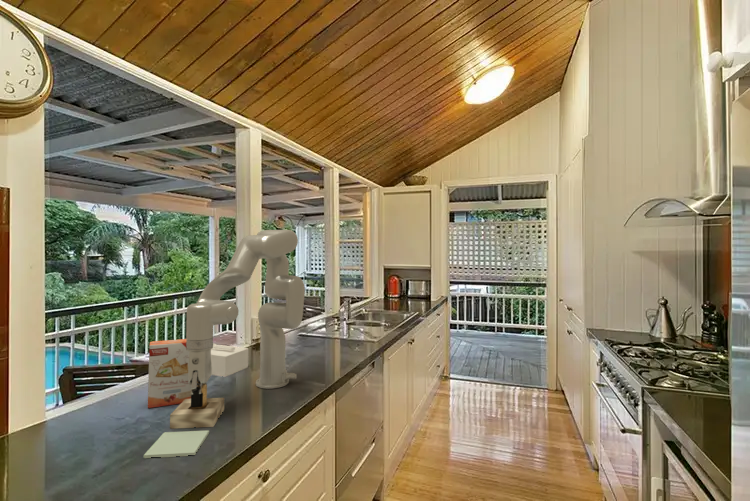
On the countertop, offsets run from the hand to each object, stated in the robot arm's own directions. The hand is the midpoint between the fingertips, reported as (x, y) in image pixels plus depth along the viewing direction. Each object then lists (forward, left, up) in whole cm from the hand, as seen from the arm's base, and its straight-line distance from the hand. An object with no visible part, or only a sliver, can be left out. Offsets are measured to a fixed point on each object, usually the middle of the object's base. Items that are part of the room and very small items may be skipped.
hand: (198, 402), depth 117 cm
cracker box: (+13, -14, -5) cm, 20 cm away
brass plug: (0, 0, -5) cm, 5 cm away
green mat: (0, +16, -5) cm, 17 cm away
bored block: (0, 0, -5) cm, 5 cm away
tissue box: (+10, -52, -5) cm, 53 cm away
